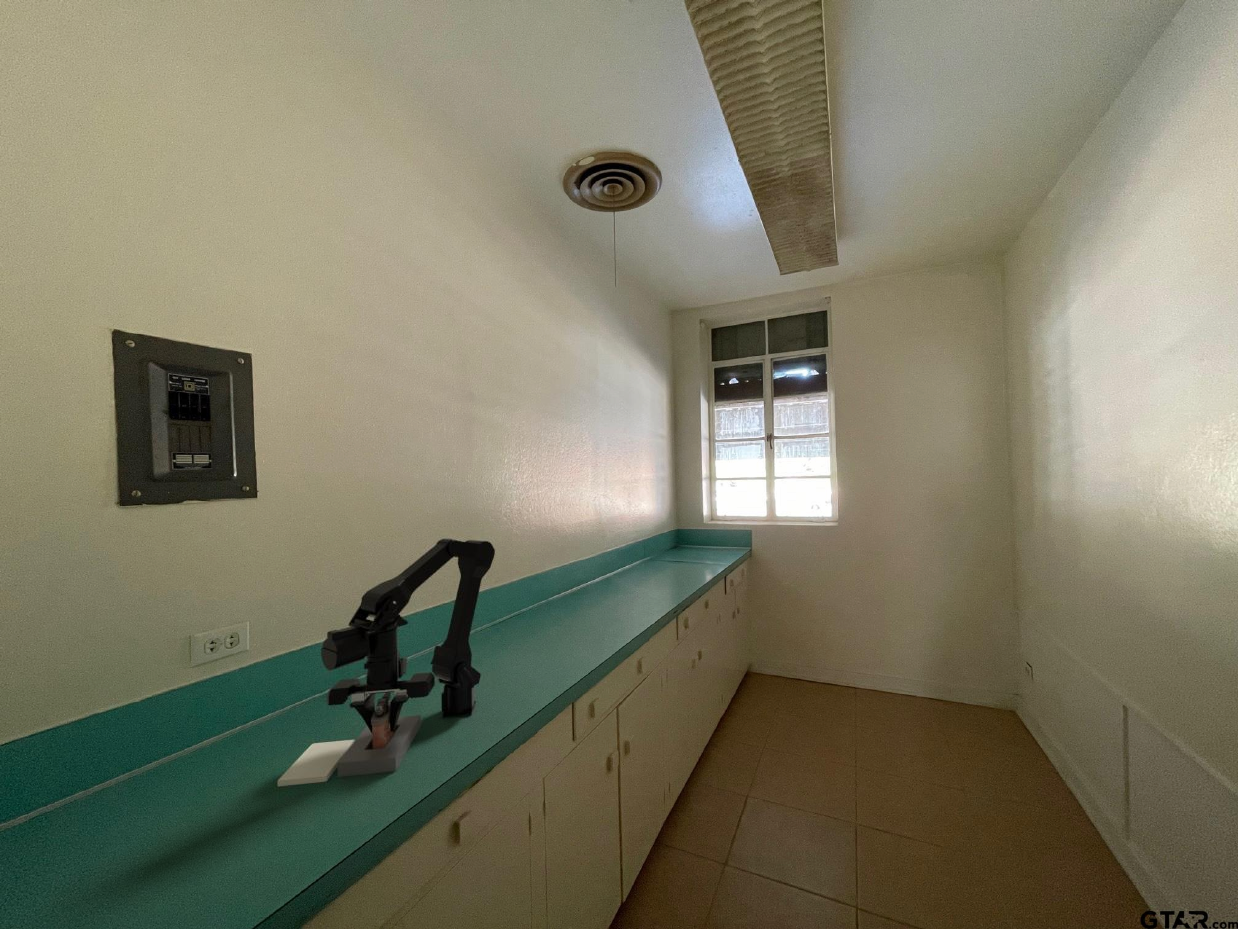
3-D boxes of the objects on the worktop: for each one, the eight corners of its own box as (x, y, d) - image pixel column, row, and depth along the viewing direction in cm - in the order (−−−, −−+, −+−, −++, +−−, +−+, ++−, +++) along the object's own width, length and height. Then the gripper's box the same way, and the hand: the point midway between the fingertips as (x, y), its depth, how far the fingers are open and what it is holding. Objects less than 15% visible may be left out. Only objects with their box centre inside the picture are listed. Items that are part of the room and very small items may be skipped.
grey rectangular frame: (420, 726, 103) (420, 715, 103) (395, 771, 87) (395, 757, 87) (371, 731, 102) (371, 719, 102) (337, 777, 86) (337, 763, 86)
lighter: (386, 759, 91) (385, 706, 91) (367, 761, 90) (366, 708, 91) (399, 737, 99) (398, 688, 99) (381, 739, 98) (381, 690, 99)
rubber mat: (354, 744, 96) (354, 739, 96) (326, 781, 85) (326, 775, 85) (312, 748, 95) (312, 743, 95) (277, 786, 83) (277, 780, 84)
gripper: (440, 636, 104) (441, 708, 104) (350, 642, 102) (351, 716, 101) (426, 654, 93) (428, 735, 93) (325, 662, 91) (325, 745, 90)
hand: (383, 731), depth 94 cm, fingers closed on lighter, 3 cm apart
